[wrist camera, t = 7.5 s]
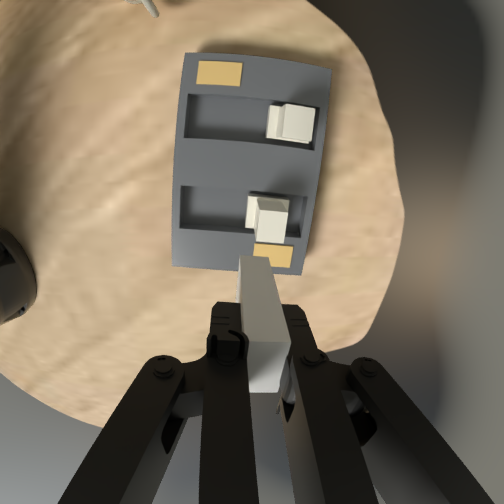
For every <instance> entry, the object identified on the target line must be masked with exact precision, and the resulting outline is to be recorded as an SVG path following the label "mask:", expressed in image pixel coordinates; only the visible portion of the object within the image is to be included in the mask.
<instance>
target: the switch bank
mask: <svg viewBox="0 0 504 504" xmlns="http://www.w3.org/2000/svg"><path fill="white" fill-rule="evenodd" d="M331 75H332V69H329V68H324V67H320V66H315V65H311V64H306V63H300V62H295V61H289V60H283V59H276V58H269V57H260V56H251V55H240V54H225V53H185V56H184V63H183V70H182V78H181V85H180V94H179V103H178V113H177V123H176V135H175V149H174V166H173V188H172V266H177V267H189V268H201V269H214V270H227V271H238V270H239V259H240V255H247V256H261V257H269V261H270V264H271V268H272V272H273V274H285V275H301V274H302V269H303V264H304V259H305V254H306V249H307V244H308V238H309V233H310V227H311V222H312V216H313V210H314V204H315V198H316V192H317V186H318V180H319V173H320V166H321V159H322V152H323V145H324V138H325V130H326V122H327V113H328V104H329V95H330V85H331ZM285 104H291V105H297V106H303V107H309V108H314V109H315V116H314V124H313V132H312V140H311V141H309V143H308V144H307V143H300V142H294V141H287V140H279V139H271V138H265V135H266V126H267V118H268V109H269V106H270V105H272V106H280V107H282V106H283V105H285ZM248 193H252V194H262V195H272V196H282V197H287V198H288V199H289V207H288V218H287V224H286V231H285V237H284V244H283V243H271V242H259V241H256V238H255V232H254V228H245V218H246V208H247V198H248Z"/></svg>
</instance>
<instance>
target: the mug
mask: <svg viewBox="0 0 504 504" xmlns="http://www.w3.org/2000/svg"><path fill="white" fill-rule="evenodd" d="M124 1H126V2H128V3H132V4H140V3H143V4H144V6H145V7H146V9H147V10H148V11H149V13H150V14H151V15H152V16H153V17H158V16H159V12H158V10H157V8H156V6H155V5H154V3H153V2H152V0H124Z"/></svg>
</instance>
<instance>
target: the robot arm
mask: <svg viewBox="0 0 504 504" xmlns="http://www.w3.org/2000/svg"><path fill="white" fill-rule="evenodd" d="M35 298H36V282H35V277H34V273H33V270H32V267H31V265H30V262H29V260H28V258H27V256H26V254H25V252H24V251H23V249H22V247H21V246H20V244H19V243H18V242H17V241H16V239H15V238H14V237H13V236H12V235H11V234H10V233H8V232H7V231H6V230H4V229H2V228H0V325H2V324H4V323H6V322H9V321H11V320H13V319H15V318H17V317H20V316H22V315H23V314H25V313H26V312H27V311H28V309H29V308H30V307H31V306H32V305H33V303H34V301H35ZM279 385H280V387H281V397H280V400H279V403H278V406H277V409H276V414H279V412H280V411H281V416H282V423H283V429H284V435H285V442H286V448H287V454H288V460H289V467H290V473H291V479H292V485H293V492H294V498H295V504H379V503H378V500H377V496H376V494H375V490H374V487H373V484H374V485H375V487H376V489H377V490H378V492H379V493H380V495H381V497H382V498H383V500H384V501H385V503H386V504H494V502H493V501H492V500H491V498H490V497H489V496H488V494H487V493H486V492H485V491H484V489H483V488H482V487H481V485H480V484H479V483H478V482H477V480H476V479H475V478H474V476H473V475H472V474H471V472H470V471H469V470H468V469H467V467H466V466H465V465H464V464H463V462H462V461H461V460H460V459H459V457H457V455H456V454H455V452H454V451H453V450H452V449H451V447H450V446H449V445H448V444H447V442H446V441H445V440H444V439H443V438H442V436H441V435H440V434H439V433H438V431H437V430H436V429H435V428H434V427H433V425H432V424H431V423H430V422H429V420H428V419H427V418H426V417H425V416H424V415H423V414H422V412H421V411H420V410H419V408H418V407H417V406H416V405H415V404H414V403H413V401H412V400H411V399H410V398H409V397H408V395H407V394H406V393H405V392H404V391H403V390H402V388H401V387H400V386H399V385H398V384H397V382H396V381H395V380H394V379H393V378H392V377H391V376H390V374H389V373H388V372H387V371H386V370H385V369H384V367H383V366H382V365H381V364H380V363H378V362H377V361H376V360H373V359H371V358H366V357H361V358H357V359H355V360H354V361H353V362H352V364H351V366H350V365H344V364H339V363H335V362H332V361H329V358H328V356H327V355H326V354H325V353H324V352H323V351H321V350H319V349H318V348H317V345H316V342H315V340H314V337H313V334H312V331H311V329H310V327H309V323H308V321H307V318H306V315H305V312H304V311H303V310H302V309H301V308H300V307H299V306H298V305H290V304H281V302H280V298H279V294H278V290H277V287H276V283H275V279H274V275H273V272H272V268H271V264H270V261H269V257H261V256H247V255H240V259H239V270H238V280H237V291H236V303H231V302H217V303H216V304H215V305H214V306H213V308H212V313H211V324H210V333H209V335H208V337H207V353H206V354H205V355H204V356H203V357H202V358H200V359H198V360H196V361H193V362H188V363H181V362H180V361H179V360H178V359H176V358H174V357H172V356H167V355H160V356H155V357H153V358H151V359H149V360H148V361H147V362H146V363H145V364H144V366H143V367H142V369H141V370H140V372H139V373H138V375H137V376H136V378H135V379H134V381H133V383H132V384H131V386H130V387H129V389H128V390H127V392H126V393H125V395H124V396H123V398H122V399H121V401H120V403H119V404H118V406H117V407H116V409H115V410H114V412H113V413H112V415H111V417H110V418H109V420H108V421H107V423H106V424H105V426H104V428H103V429H102V431H101V433H100V434H99V436H98V437H97V439H96V441H95V442H94V444H93V445H92V447H91V448H90V450H89V452H88V453H87V455H86V457H85V458H84V460H83V462H82V463H81V465H80V467H79V468H78V470H77V472H76V473H75V475H74V477H73V478H72V480H71V482H70V483H69V485H68V487H67V489H66V490H65V492H64V493H63V495H62V497H61V499H60V500H59V502H58V504H152V502H153V499H154V497H155V495H156V492H157V490H158V488H159V485H160V483H161V481H162V478H163V476H164V474H165V471H166V469H167V467H168V464H169V462H170V460H171V457H172V455H173V453H174V450H175V448H176V446H177V443H178V441H179V439H180V436H181V434H182V431H183V429H184V427H185V424H186V422H187V420H188V418H189V417H195V416H199V415H202V429H201V430H202V431H201V450H200V475H199V504H259V497H258V486H257V476H256V465H255V454H254V442H253V430H252V418H251V406H250V393H249V392H278V389H279ZM372 483H373V484H372Z"/></svg>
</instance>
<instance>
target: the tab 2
mask: <svg viewBox="0 0 504 504" xmlns="http://www.w3.org/2000/svg"><path fill="white" fill-rule="evenodd" d="M314 116H315V109H314V108H309V107H303V106H297V105H291V104H285V105H283V106H282V107H280V106H272V105H270V106H269V109H268V118H267V126H266V135H265V138H271V139H279V140H287V141H294V142H300V143H307V144H308V143H309V141H311V140H312V132H313V124H314Z"/></svg>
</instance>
